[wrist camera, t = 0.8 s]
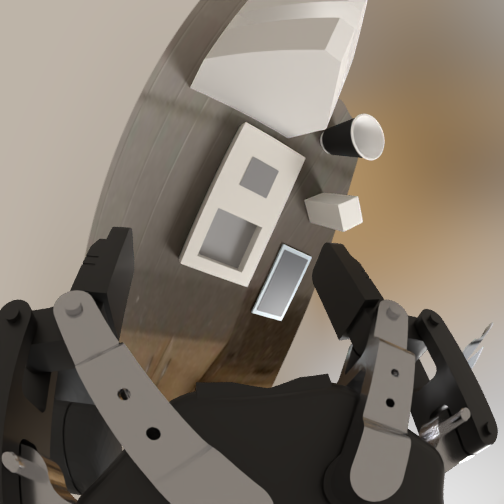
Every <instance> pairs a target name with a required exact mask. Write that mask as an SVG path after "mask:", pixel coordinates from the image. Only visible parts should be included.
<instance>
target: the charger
mask: <svg viewBox="0 0 504 504" xmlns="http://www.w3.org/2000/svg"><path fill="white" fill-rule="evenodd" d="M304 201H305V205H306V209H307V213H308V217H309V221H310V223H314V224H317V225H321V226H325V227H328V228H332V229H335V230H339V231H342V232H344V231H346V230H348V229H350V228H352V227H354V226H356V225H358V224H360V223H362V222H363V220H362V215H361V209H360V204H359V199H358V196H350V195H341V194H332V193H321V194H318V195H316V196H313V197H310V198H308V199H305V200H304Z"/></svg>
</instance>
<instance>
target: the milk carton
mask: <svg viewBox="0 0 504 504" xmlns="http://www.w3.org/2000/svg"><path fill="white" fill-rule="evenodd" d="M366 5H367V0H248V1H247V2H246V3H245V4H244V6H243V7H242V8H241V9H240V10H239V12H238V13H237V14H236V15H235V17H234V18H233V19H232V21H231V22H230V23H229V25H228V26H227V27H226V29H225V30H224V31H223V33H222V34H221V35H220V37H219V38H218V40H217V41H216V43H215V44H214V45H213V47H212V48H211V50H210V51H209V53H208V54H207V56H206V57H205V59H204V61H203V63H202V64H201V66H200V68H199V70H198V72H197V74H196V76H195V78H194V80H193V83H192V85H191V87H190V88H191V89H194V90H196V91H198V92H200V93H203V94H205V95H207V96H209V97H211V98H213V99H215V100H218V101H220V102H222V103H224V104H226V105H228V106H230V107H232V108H234V109H236V110H238V111H240V112H242V113H243V114H245V115H247V116H249V117H251V118H253V119H255V120H257V121H258V122H260V123H262V124H264V125H266V126H267V127H269V128H271V129H273V130H274V131H276V132H278V133H280V134H281V135H283V136H285V137H286V138H292V137H295V136H299V135H303V134H307V133H312V132H316V131H320V130H324V129H326V128H327V126H328V123H329V121H330V118H331V115H332V113H333V110H334V108H335V105H336V103H337V100H338V98H339V95H340V92H341V90H342V87H343V84H344V82H345V79H346V76H347V74H348V71H349V68H350V66H351V63H352V61H353V57H354V54H355V50H356V46H357V42H358V38H359V34H360V30H361V25H362V21H363V18H364V13H365V9H366Z"/></svg>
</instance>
